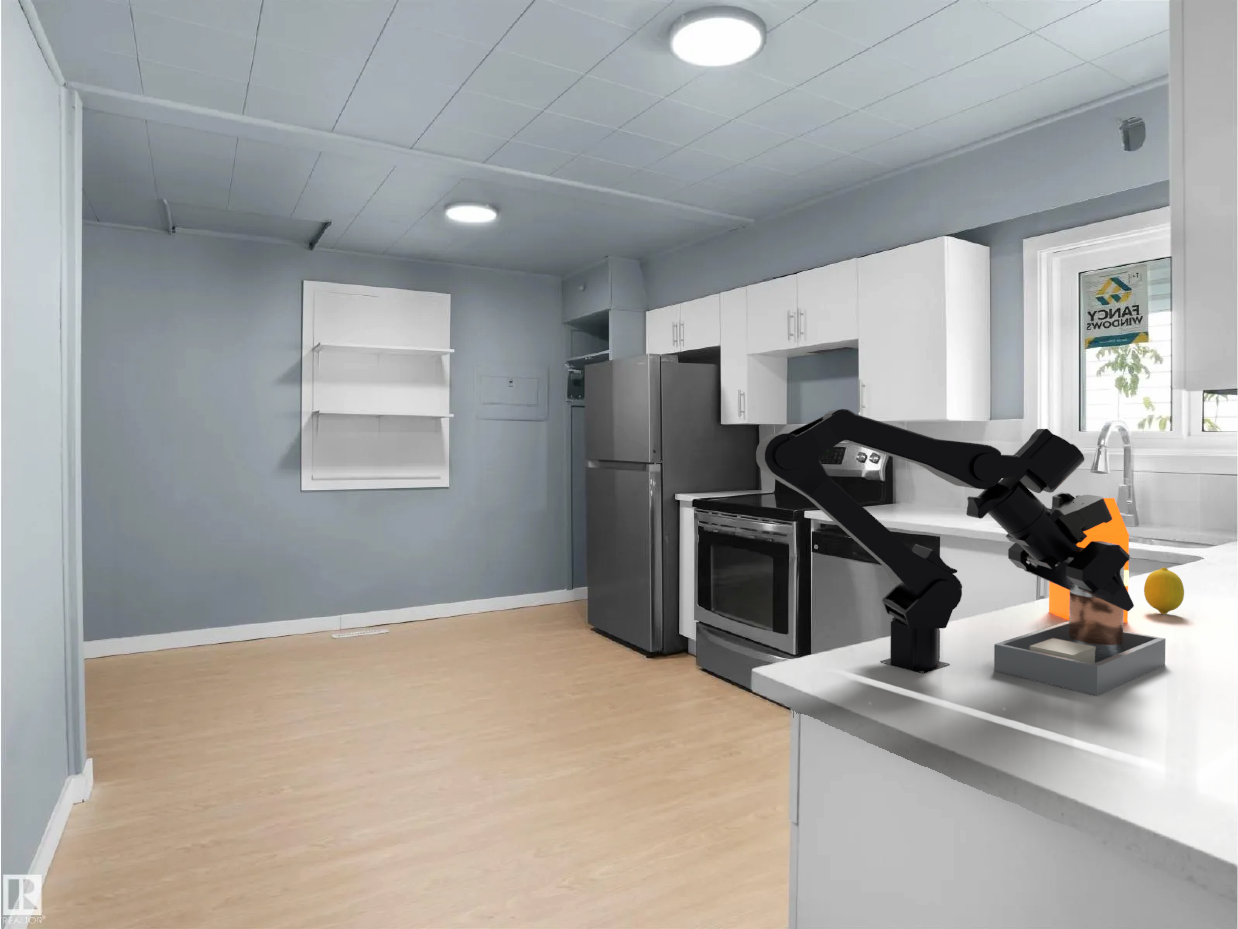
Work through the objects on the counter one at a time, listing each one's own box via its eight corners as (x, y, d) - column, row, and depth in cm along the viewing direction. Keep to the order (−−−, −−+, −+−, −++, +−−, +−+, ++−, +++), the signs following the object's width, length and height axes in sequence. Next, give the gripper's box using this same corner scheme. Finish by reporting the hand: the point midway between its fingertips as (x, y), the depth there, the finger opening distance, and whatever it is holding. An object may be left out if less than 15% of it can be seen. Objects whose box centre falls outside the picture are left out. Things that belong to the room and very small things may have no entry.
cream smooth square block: (1072, 684, 92) (1073, 655, 92) (1029, 674, 96) (1029, 645, 96) (1095, 675, 95) (1095, 646, 95) (1052, 665, 99) (1052, 638, 99)
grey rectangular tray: (1096, 701, 88) (1097, 666, 88) (994, 675, 98) (994, 644, 97) (1165, 669, 100) (1165, 638, 99) (1067, 648, 109) (1067, 621, 109)
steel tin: (1083, 667, 98) (1085, 567, 98) (1059, 654, 104) (1061, 559, 104) (1132, 668, 98) (1135, 567, 97) (1106, 655, 104) (1107, 559, 103)
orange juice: (1128, 622, 124) (1130, 499, 124) (1073, 622, 125) (1075, 500, 124) (1099, 611, 132) (1100, 496, 132) (1047, 611, 132) (1049, 496, 132)
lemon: (1190, 618, 126) (1191, 570, 126) (1152, 617, 128) (1153, 569, 127) (1173, 611, 132) (1174, 565, 132) (1137, 610, 133) (1138, 564, 133)
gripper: (1114, 477, 91) (1205, 569, 91) (1030, 471, 110) (1106, 547, 110) (1047, 544, 91) (1138, 635, 92) (974, 526, 110) (1050, 602, 110)
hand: (1107, 600), depth 101 cm, fingers open, 9 cm apart
